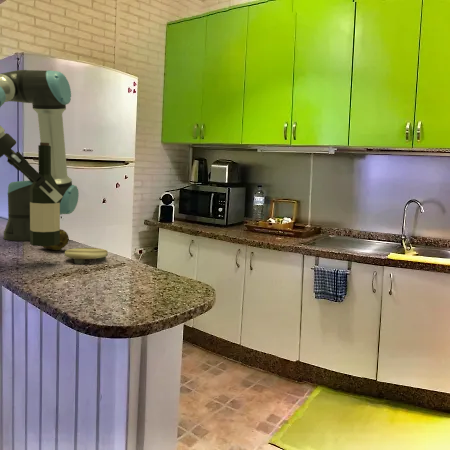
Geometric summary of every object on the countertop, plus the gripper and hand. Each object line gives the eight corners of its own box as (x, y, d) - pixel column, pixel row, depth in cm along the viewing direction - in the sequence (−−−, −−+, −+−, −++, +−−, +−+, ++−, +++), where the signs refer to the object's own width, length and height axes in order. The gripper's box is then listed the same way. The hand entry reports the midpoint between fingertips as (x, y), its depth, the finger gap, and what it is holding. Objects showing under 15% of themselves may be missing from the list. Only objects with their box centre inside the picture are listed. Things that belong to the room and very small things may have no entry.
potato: (62, 247, 168) (62, 225, 167) (70, 253, 157) (70, 230, 156) (38, 248, 164) (38, 226, 163) (45, 254, 153) (45, 230, 152)
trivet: (65, 257, 150) (65, 248, 150) (105, 256, 154) (105, 247, 154) (64, 265, 138) (64, 255, 138) (109, 264, 142) (109, 254, 142)
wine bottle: (47, 240, 143) (47, 143, 139) (65, 243, 139) (65, 143, 135) (24, 243, 136) (22, 141, 132) (42, 247, 132) (41, 141, 128)
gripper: (-16, 150, 136) (42, 204, 145) (-14, 149, 118) (53, 211, 127) (3, 133, 138) (60, 187, 147) (9, 129, 119) (72, 192, 129)
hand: (56, 198), depth 137 cm, fingers closed on wine bottle, 8 cm apart
